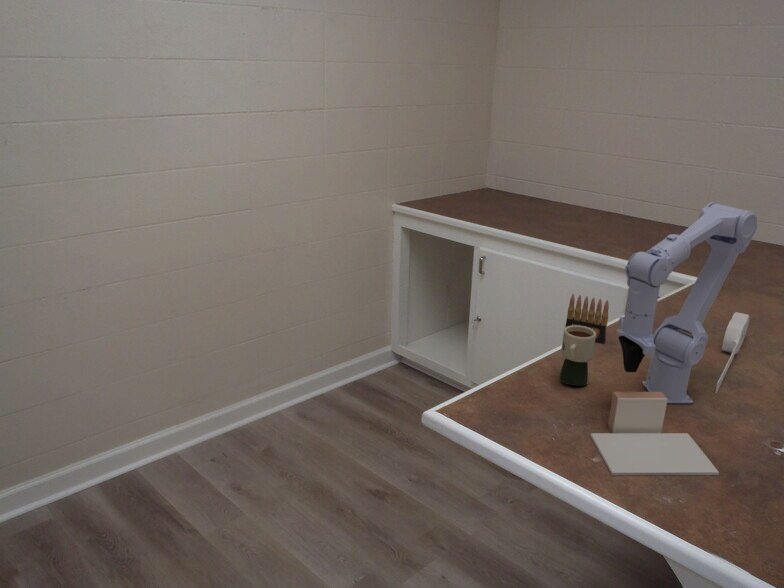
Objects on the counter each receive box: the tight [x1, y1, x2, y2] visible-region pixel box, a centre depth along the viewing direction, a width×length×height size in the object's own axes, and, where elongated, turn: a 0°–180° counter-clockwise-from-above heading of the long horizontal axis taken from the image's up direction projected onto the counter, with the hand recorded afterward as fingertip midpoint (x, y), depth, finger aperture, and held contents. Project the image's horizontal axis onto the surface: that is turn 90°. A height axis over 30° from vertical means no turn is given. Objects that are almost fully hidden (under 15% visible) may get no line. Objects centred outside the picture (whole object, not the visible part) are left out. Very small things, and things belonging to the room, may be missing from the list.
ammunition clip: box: [564, 293, 610, 345], centre depth 177 cm, size 11×2×12 cm, turn 63°
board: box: [589, 432, 720, 476], centre depth 130 cm, size 13×20×1 cm, turn 92°
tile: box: [607, 391, 668, 433], centre depth 137 cm, size 3×10×8 cm, turn 92°
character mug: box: [559, 325, 596, 387], centre depth 154 cm, size 11×7×13 cm, turn 148°
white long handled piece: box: [714, 311, 750, 394], centre depth 167 cm, size 38×8×4 cm
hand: (630, 370), depth 141 cm, fingers closed
